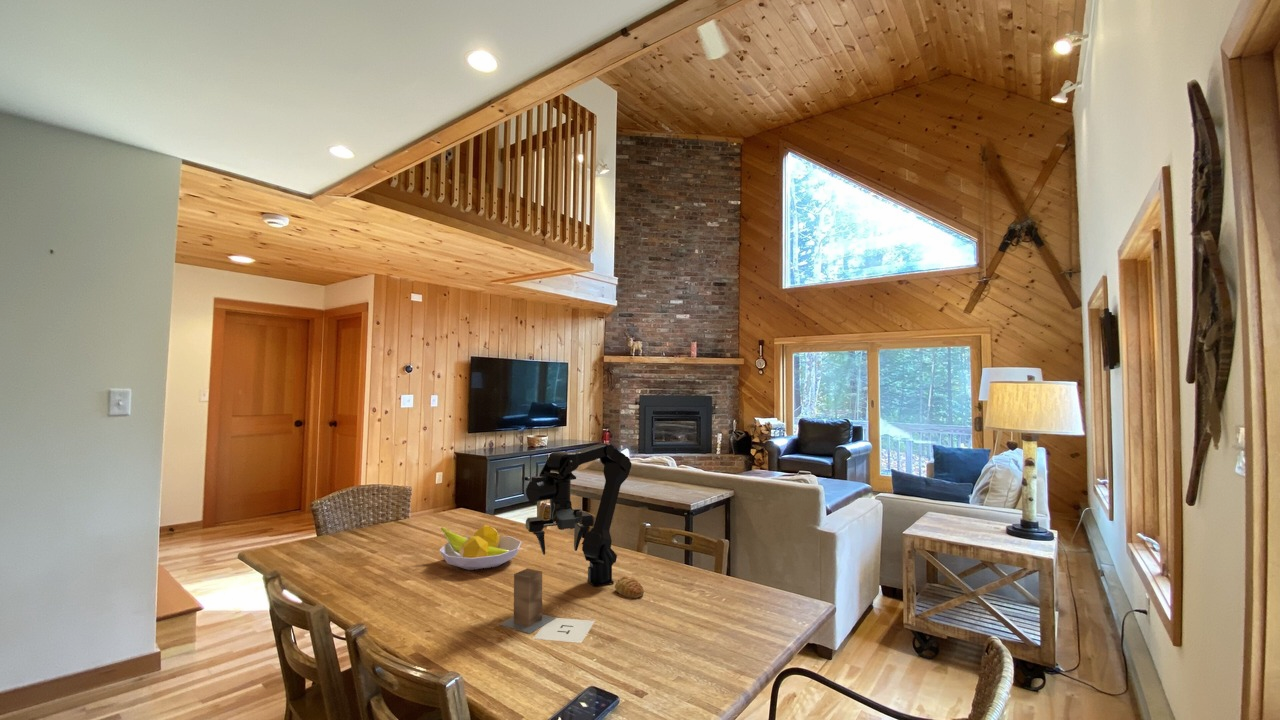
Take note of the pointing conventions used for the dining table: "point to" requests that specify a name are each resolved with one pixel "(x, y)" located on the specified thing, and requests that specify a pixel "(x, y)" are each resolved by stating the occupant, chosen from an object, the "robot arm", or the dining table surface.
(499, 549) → the fruit bowl
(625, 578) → the pastry
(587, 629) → the tile
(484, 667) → the dining table surface
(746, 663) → the dining table surface
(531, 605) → the walnut block
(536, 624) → the slate coaster
